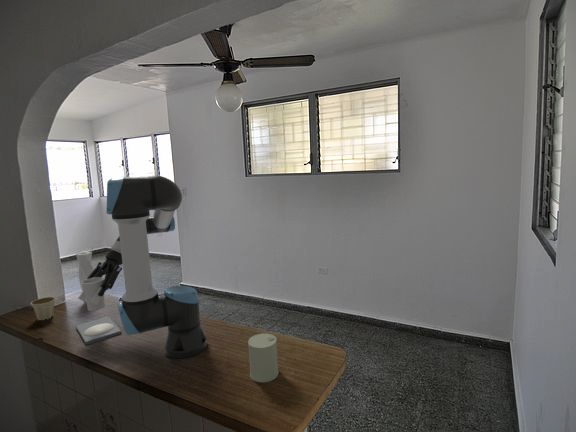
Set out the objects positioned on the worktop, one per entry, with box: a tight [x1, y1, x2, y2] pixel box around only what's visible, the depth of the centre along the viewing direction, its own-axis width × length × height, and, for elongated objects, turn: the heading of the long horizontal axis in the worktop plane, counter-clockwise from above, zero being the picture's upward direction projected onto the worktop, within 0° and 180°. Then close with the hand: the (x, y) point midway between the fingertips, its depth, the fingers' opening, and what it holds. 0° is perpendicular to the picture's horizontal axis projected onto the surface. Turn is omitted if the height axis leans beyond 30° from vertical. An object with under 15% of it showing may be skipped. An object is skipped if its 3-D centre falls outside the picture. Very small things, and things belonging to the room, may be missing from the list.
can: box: [247, 333, 280, 383], centre depth 110 cm, size 9×9×12 cm
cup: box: [82, 276, 106, 312], centre depth 143 cm, size 8×8×12 cm
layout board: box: [75, 315, 122, 346], centre depth 146 cm, size 20×13×1 cm, turn 41°
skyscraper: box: [75, 247, 95, 303], centre depth 181 cm, size 8×8×28 cm
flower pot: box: [30, 296, 56, 321], centre depth 162 cm, size 9×9×9 cm
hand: (87, 301), depth 140 cm, fingers closed on cup, 8 cm apart
